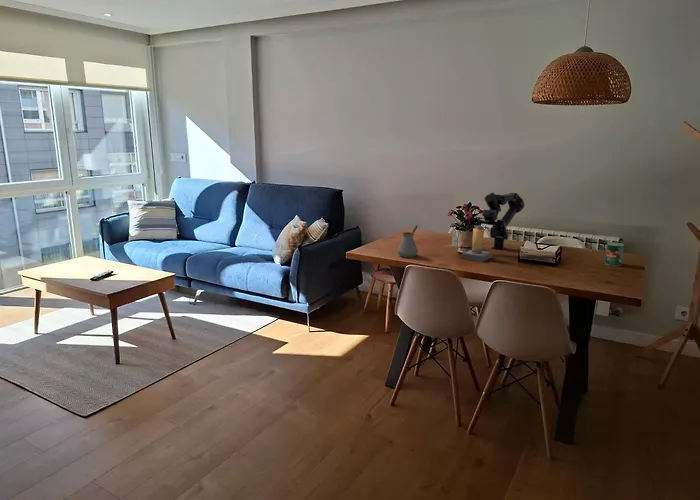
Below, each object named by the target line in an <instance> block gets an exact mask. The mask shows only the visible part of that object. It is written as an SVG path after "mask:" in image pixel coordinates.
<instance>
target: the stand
mask: <svg viewBox="0 0 700 500" xmlns="http://www.w3.org/2000/svg"><path fill="white" fill-rule="evenodd" d="M492 255H493V252H492V251H486V250H483V251H482V253H472V250H471V249H469V250H466V251H464V252H462V253H461V259H464V260H469V261H475V262H479V263H483V262H485V261H487V260H490V259H492V257H493V256H492Z"/></svg>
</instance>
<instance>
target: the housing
mask: <svg viewBox="0 0 700 500" xmlns="http://www.w3.org/2000/svg"><path fill="white" fill-rule="evenodd" d="M484 231H485V228H483V225H481V226H474V228H473V230H472V242H471V249H472V253H482V251H484V246H483V245H484V236H485V235H484V233H485V232H484Z"/></svg>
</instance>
